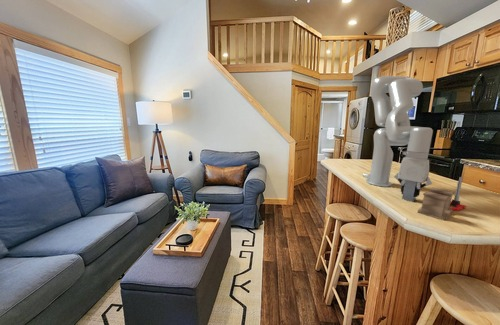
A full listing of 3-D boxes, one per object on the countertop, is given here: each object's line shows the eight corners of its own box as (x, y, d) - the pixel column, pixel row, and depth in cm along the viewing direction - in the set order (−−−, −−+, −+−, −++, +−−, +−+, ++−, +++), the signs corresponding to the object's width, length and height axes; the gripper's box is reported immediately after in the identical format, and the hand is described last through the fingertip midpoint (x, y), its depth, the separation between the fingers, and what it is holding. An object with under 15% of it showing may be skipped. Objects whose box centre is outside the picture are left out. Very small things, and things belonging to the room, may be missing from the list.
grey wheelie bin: (400, 199, 97) (404, 178, 95) (404, 197, 100) (408, 176, 98) (412, 202, 94) (417, 180, 92) (416, 200, 96) (420, 178, 94)
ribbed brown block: (417, 212, 82) (421, 192, 81) (426, 205, 91) (430, 186, 89) (444, 220, 76) (449, 199, 75) (452, 211, 84) (456, 192, 83)
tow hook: (452, 212, 85) (468, 209, 87) (458, 181, 82) (474, 179, 84) (430, 204, 93) (445, 202, 95) (434, 176, 90) (450, 174, 92)
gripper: (391, 153, 97) (385, 191, 100) (439, 159, 84) (430, 202, 88) (397, 152, 101) (391, 188, 105) (443, 157, 88) (435, 199, 92)
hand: (409, 194), depth 96 cm, fingers closed on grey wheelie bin, 4 cm apart
